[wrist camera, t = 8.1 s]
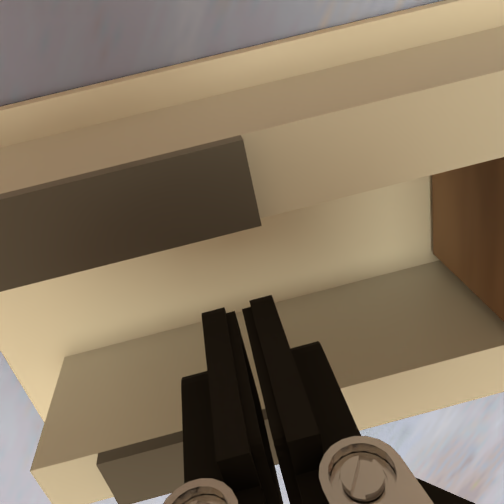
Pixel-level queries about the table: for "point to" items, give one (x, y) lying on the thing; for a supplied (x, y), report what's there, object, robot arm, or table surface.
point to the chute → (245, 234)
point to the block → (472, 228)
